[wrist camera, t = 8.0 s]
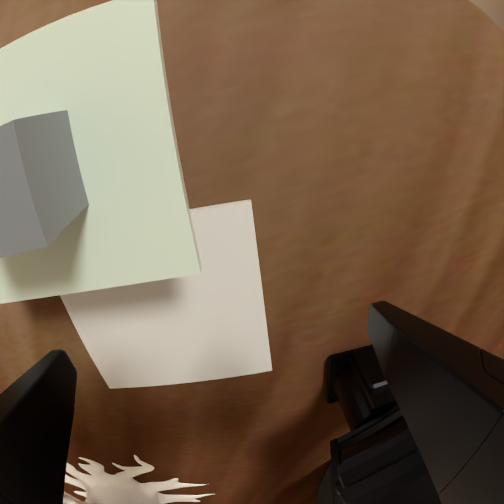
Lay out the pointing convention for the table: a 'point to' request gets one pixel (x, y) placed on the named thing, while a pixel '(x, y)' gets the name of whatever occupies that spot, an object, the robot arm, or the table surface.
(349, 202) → the table surface
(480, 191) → the table surface
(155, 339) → the mat
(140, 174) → the cover sheet
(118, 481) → the tree stump
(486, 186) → the table surface
